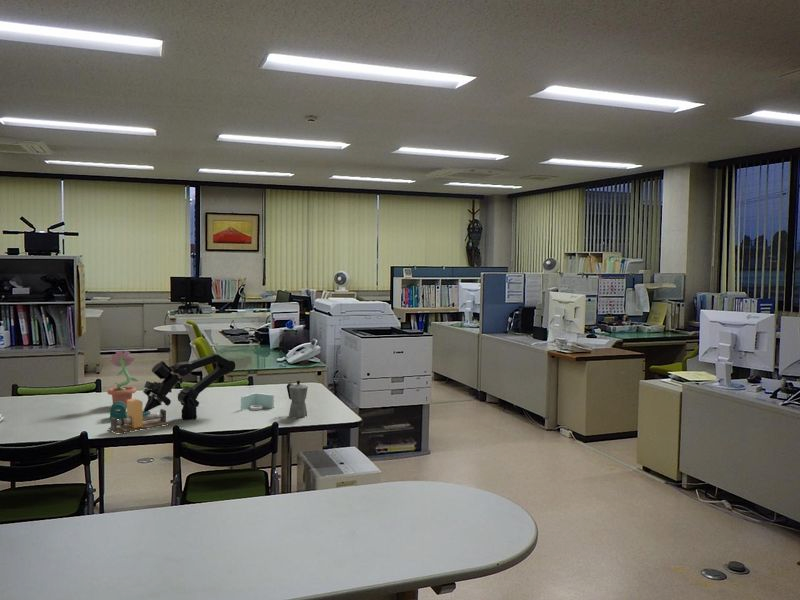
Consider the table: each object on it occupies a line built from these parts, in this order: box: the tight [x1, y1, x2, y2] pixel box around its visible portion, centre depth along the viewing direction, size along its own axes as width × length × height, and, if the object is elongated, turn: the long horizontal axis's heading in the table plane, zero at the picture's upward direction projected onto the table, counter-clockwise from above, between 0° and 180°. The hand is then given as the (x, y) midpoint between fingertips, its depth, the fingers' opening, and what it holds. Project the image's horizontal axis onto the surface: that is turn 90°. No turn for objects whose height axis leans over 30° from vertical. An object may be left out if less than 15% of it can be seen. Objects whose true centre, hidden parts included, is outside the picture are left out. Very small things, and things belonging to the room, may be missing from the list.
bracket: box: [109, 401, 151, 420], centre depth 309 cm, size 18×7×8 cm, turn 111°
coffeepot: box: [286, 380, 308, 419], centre depth 319 cm, size 15×9×18 cm, turn 49°
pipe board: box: [107, 408, 170, 434], centre depth 292 cm, size 24×10×6 cm, turn 135°
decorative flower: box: [107, 350, 139, 408], centre depth 328 cm, size 15×14×30 cm
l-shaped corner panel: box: [240, 392, 275, 411], centre depth 330 cm, size 12×12×8 cm
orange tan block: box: [126, 398, 144, 428], centre depth 290 cm, size 4×8×12 cm, turn 45°
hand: (144, 411), depth 293 cm, fingers closed
